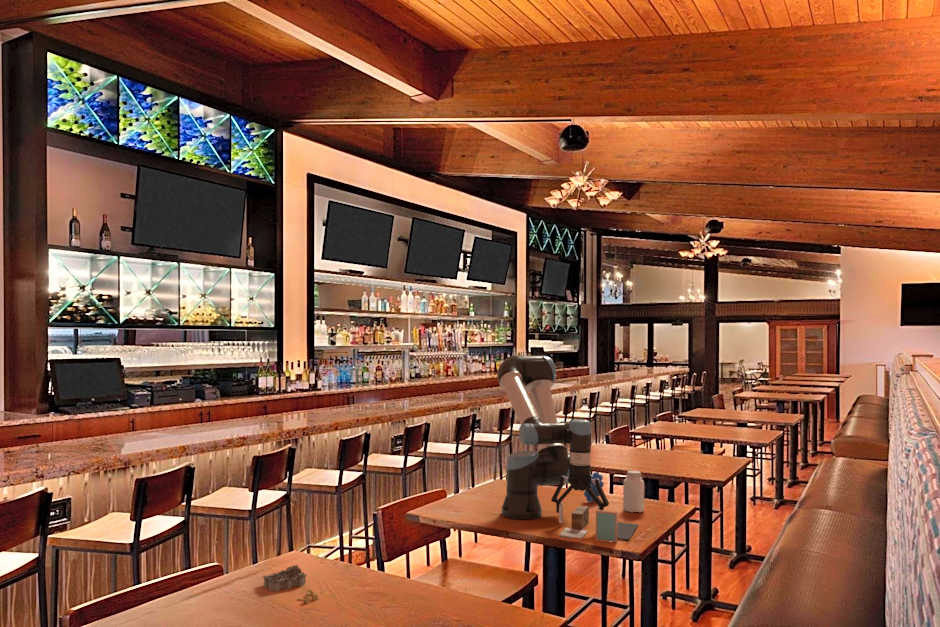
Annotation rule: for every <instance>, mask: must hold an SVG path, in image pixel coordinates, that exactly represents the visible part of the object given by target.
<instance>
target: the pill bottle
mask: <svg viewBox="0 0 940 627" xmlns="http://www.w3.org/2000/svg"><path fill="white" fill-rule="evenodd" d="M626 473H627V474H626V478H625V479H624V480H623V484H622V485H623V491H622V494H623V495H622V496H623V497H622V498H623V500H622V501H623V504H622V508H623V511H625V512H627V511H629V512H628V513H633V512H639V513H642V512H644V511H645V481H644V480H643V479H642V472H641V471H639V470H628V471H627V472H626Z"/></svg>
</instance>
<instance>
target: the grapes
mask: <svg viewBox="0 0 940 627" xmlns="http://www.w3.org/2000/svg"><path fill="white" fill-rule="evenodd" d="M597 478H599V479H600V485H601V487H602V488H603V487H604V485H605V484H604V482H603V475H602V474H601V473H600V474H599V472H598V471H594V472H593V473H592V474H591V479H597ZM590 486H591V488H592V490H593V491H594V492H595V493H596V495H597V496H598V497H600V495H599V493H598V491H597V488H596V485H594V484H593V483H591V484H590ZM583 495H584V497H585V498H586V501H587V503H591V502H593V501H594V499H593V498H592V497H591V496H590V494H589V493H588V492H587V491H586V490H585V491H583Z"/></svg>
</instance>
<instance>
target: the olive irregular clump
mask: <svg viewBox="0 0 940 627" xmlns="http://www.w3.org/2000/svg"><path fill="white" fill-rule="evenodd" d="M318 598H319V595H318V593H316V592H315V593H314V590H313V589H307V592H305V596H304V598H302V597H297V599H296V600H297V601H302V602H303V603H304V604H305V605H306V604H308V605H309V604H311V600H312V601H314V602H315V601H318V600H319V599H318Z"/></svg>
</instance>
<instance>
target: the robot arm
mask: <svg viewBox="0 0 940 627" xmlns="http://www.w3.org/2000/svg"><path fill="white" fill-rule="evenodd" d="M496 377H497V379H496V380H497V382H498V385H499V386H500V389H501V390H503V391H505V393H506V396H507V398H508V400H509V402H510V404H511V407H512V409H513V411H514V413H515V415H516V417H517V420H518V422H519V424H520V426H519V428H518V436H519V441H520V442H521V443H522V444H523V445H532V446H533V445H534V446H535V445H539V449H538V450H537V451H536V450H521V451H515V452H512V453H510V454H509V455H508V457H507V461H506V494H505V496H504V500H503V502H502V507H501V515H502V516H503V517H504V518H509V519H513V520H533V519H534V520H535V519H538V518H541V517H542V515H543V514H542V513H543V509H542V506H541V503H540V499H539V495H538V487H541V486H542V487H543V486H557V487H556V490H555V491H554V493H553V495H552V497H551V500H550V501H551V502H552V503H555V504H556V506H555V507H556V509H555V512H556V513H557V514H558V523H559V524H562V523H563V522H564V503H563V500H564V499H565V498H566V497H567V496H568V495H569V493H571V491H572V490H574V491H582V492H585V490H586V491H587V492H588V493H589V494H590V496H591V497H592V498H593V499H594V501H595V503H596V505H597V508H596V510H605V508H606V507H608V506H610V503H609V500H608V498H607V496H606V494H605V492H604V489H603V487H601V485H600V479H599V478H597V479H591V475H592V474H591V473H592V467H591V466H592V465H591V462H592V456H591V455H592V451H591V450H592V427H591V426H592V425H591V421H590V420H587V419H578V418H577V419H575V418H574V419H571V420H570V421H563V420H562V421H559V422H558V419H557V413H556V410H555V404H554V400H553V396H552V394H553V393H552V391H551V389H552V387H553V386H554V383H555V381H556V379H557V369H556V364H555V362H554V360H553V359H552V358H551V357H549V356H547V355H541V354H538V355H537V354H536V355H517V354H515V355H511V356H508V357H506V358H505V359H504V360H503V361H501V363H500V365H499V367H498V369H497V373H496ZM564 444H568V445H569V452H568V448H567V446H566V445H564ZM591 483H593V484H594V485H596V488H597V491H598V493H599V495H600V496H597V495H596V493H595V492H594V491H593V490H592V488H591V486H590V484H591ZM568 484H569V485H570V486H568V487H567V489H566V490H565V491H564V492H563V493H562V494H561V495H560V493H561V491H562V489H563V487H564V486H565V485H568ZM559 495H560V497H559ZM558 497H559V498H558Z"/></svg>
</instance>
